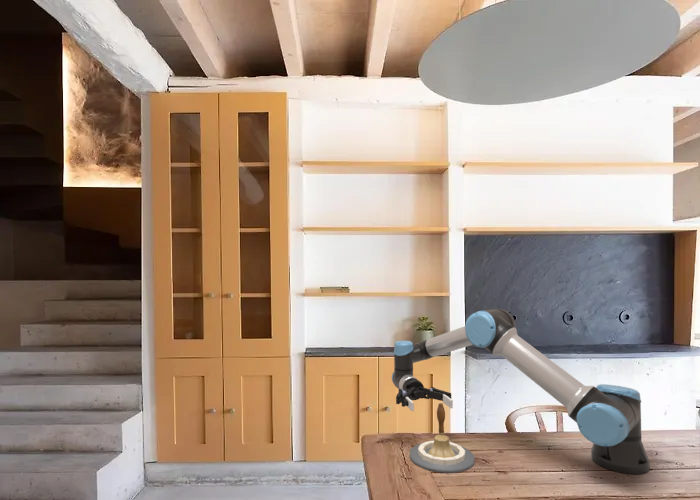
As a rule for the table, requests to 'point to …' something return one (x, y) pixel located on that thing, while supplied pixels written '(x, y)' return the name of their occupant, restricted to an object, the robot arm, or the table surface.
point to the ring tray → (442, 467)
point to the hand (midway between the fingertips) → (432, 405)
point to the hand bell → (441, 438)
